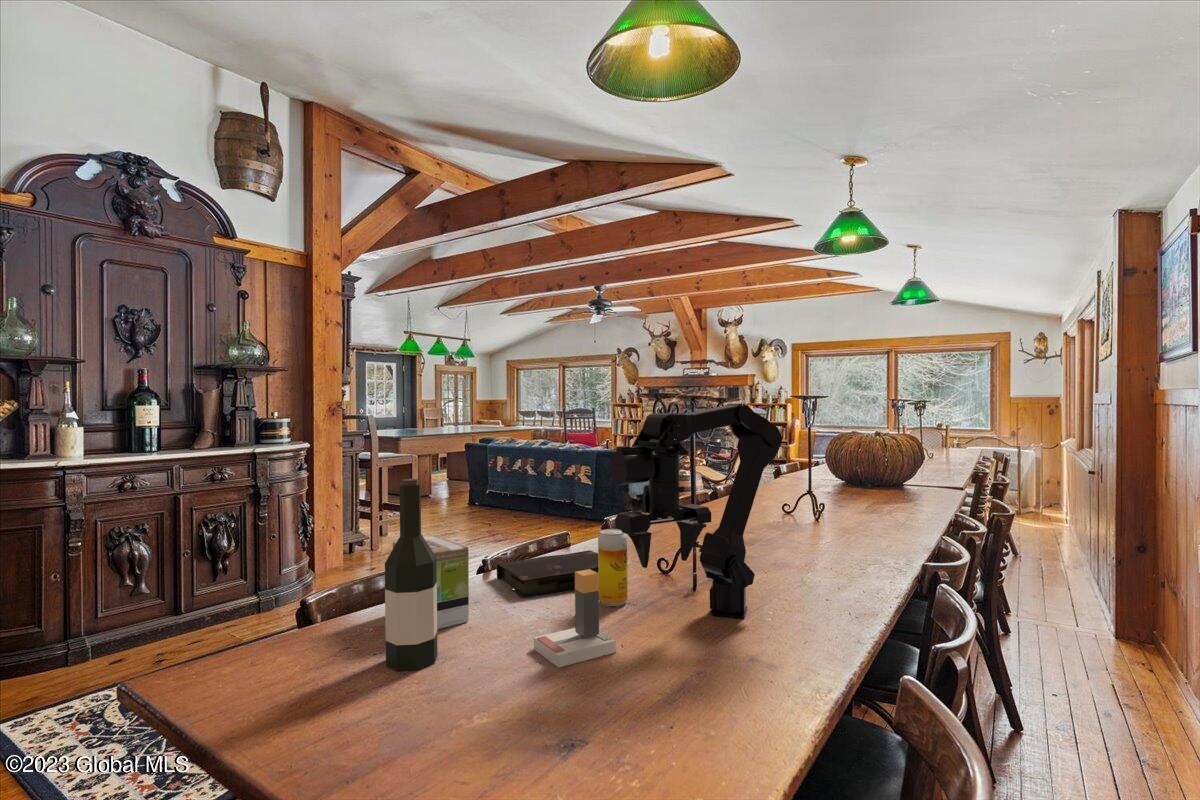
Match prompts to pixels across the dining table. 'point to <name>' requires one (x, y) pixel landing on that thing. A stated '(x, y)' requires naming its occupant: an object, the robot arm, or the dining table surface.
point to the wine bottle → (410, 590)
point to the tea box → (450, 581)
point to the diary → (546, 573)
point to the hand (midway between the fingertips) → (664, 563)
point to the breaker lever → (587, 603)
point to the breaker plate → (573, 647)
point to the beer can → (612, 567)
